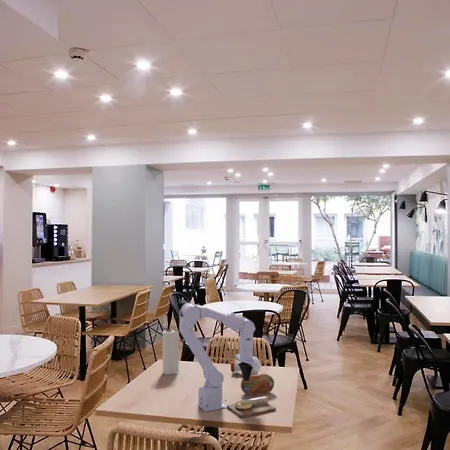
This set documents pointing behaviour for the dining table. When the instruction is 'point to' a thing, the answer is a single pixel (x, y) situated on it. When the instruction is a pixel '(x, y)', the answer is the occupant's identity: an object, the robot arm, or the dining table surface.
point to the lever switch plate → (252, 410)
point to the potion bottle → (236, 369)
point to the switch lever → (250, 403)
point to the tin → (257, 384)
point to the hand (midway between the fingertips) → (246, 380)
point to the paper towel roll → (170, 351)
